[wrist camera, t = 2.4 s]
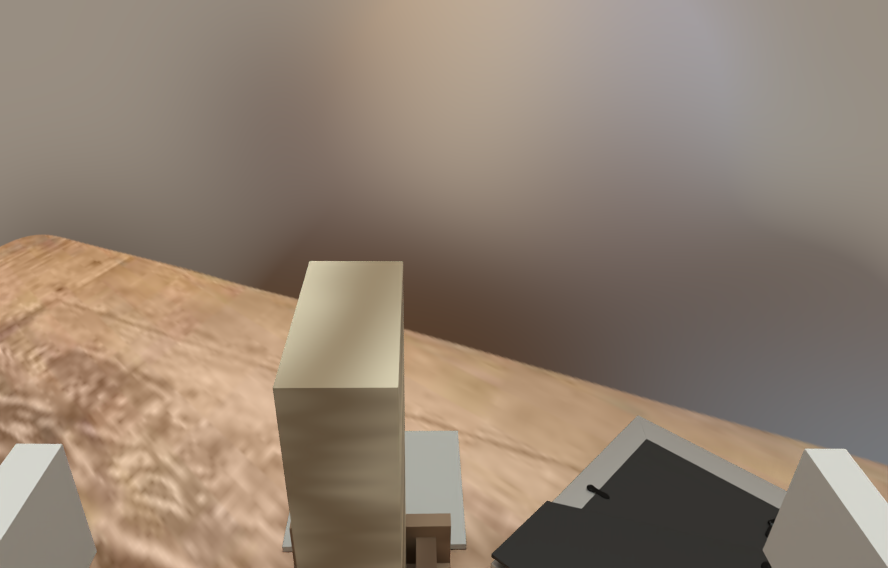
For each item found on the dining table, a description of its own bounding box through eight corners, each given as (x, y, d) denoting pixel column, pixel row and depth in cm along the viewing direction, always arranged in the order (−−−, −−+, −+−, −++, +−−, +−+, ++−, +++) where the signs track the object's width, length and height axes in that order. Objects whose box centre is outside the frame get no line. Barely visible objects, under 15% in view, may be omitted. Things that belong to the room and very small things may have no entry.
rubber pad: (457, 435, 45) (457, 430, 45) (465, 548, 37) (466, 544, 37) (306, 436, 45) (305, 431, 44) (283, 551, 37) (282, 546, 37)
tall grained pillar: (406, 571, 35) (402, 261, 25) (403, 728, 28) (398, 387, 19) (337, 572, 34) (309, 261, 25) (319, 730, 28) (272, 388, 19)
